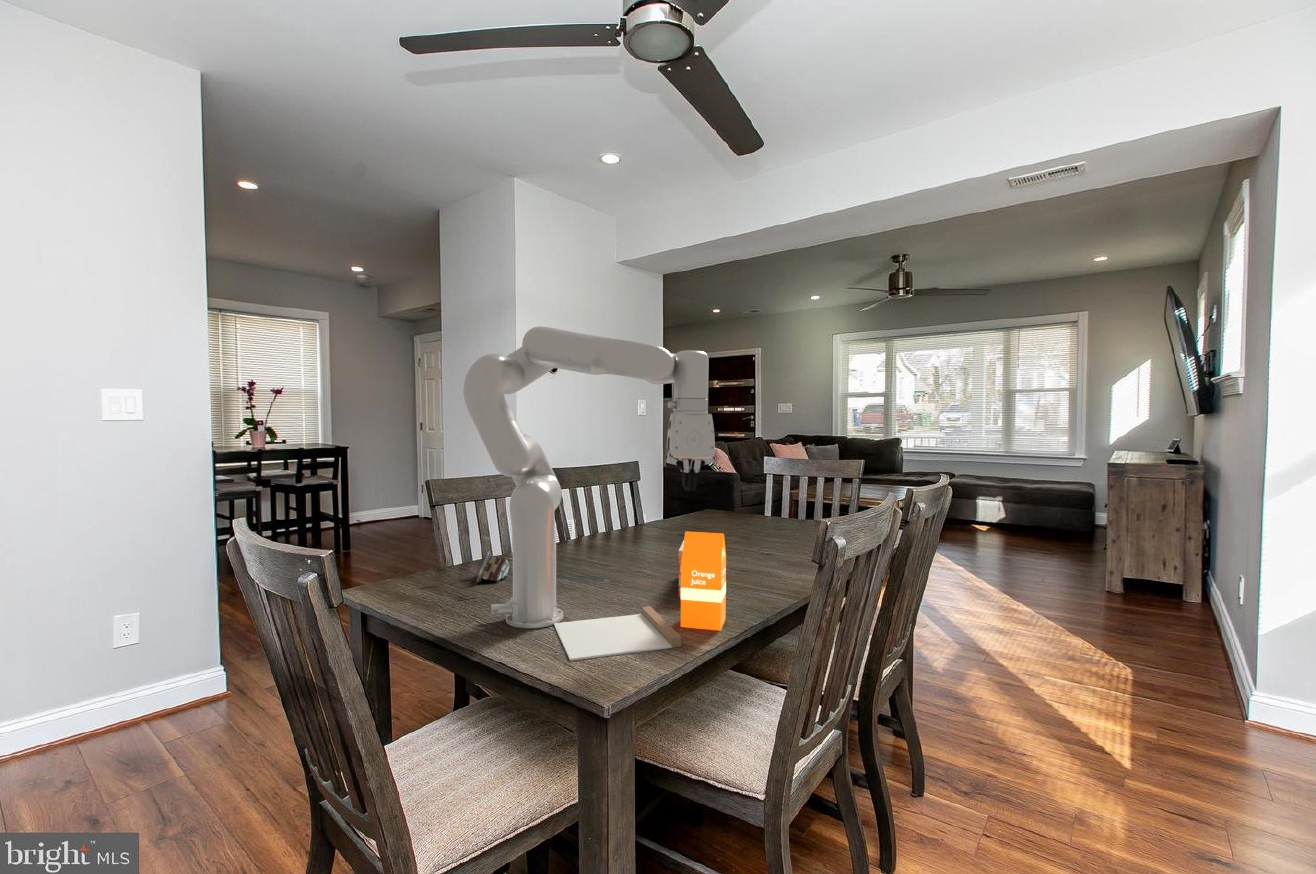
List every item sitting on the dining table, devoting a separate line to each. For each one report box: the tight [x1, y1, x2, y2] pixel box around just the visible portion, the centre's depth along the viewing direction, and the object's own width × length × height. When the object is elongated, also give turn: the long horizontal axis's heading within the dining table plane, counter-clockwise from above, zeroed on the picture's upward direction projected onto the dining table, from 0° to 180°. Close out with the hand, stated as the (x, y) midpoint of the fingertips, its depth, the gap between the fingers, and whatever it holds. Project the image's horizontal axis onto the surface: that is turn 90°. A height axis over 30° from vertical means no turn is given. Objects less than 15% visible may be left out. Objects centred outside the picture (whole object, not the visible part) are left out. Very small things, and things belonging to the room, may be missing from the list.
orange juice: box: [680, 531, 727, 631], centre depth 131 cm, size 8×9×20 cm
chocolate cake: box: [476, 549, 510, 583], centre depth 166 cm, size 10×7×12 cm
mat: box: [553, 605, 682, 662], centre depth 124 cm, size 22×20×2 cm
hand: (689, 489), depth 132 cm, fingers closed
